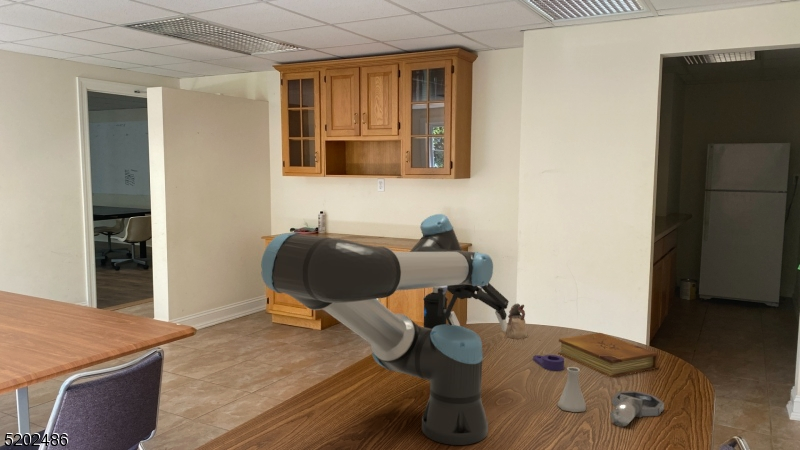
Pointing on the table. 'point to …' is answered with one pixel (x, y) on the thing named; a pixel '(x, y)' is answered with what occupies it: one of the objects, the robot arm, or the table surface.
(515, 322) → the figurine
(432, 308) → the aerosol can
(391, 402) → the table surface
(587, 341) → the diary
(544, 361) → the lever
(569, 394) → the flask
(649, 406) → the octagonal metal scoop
